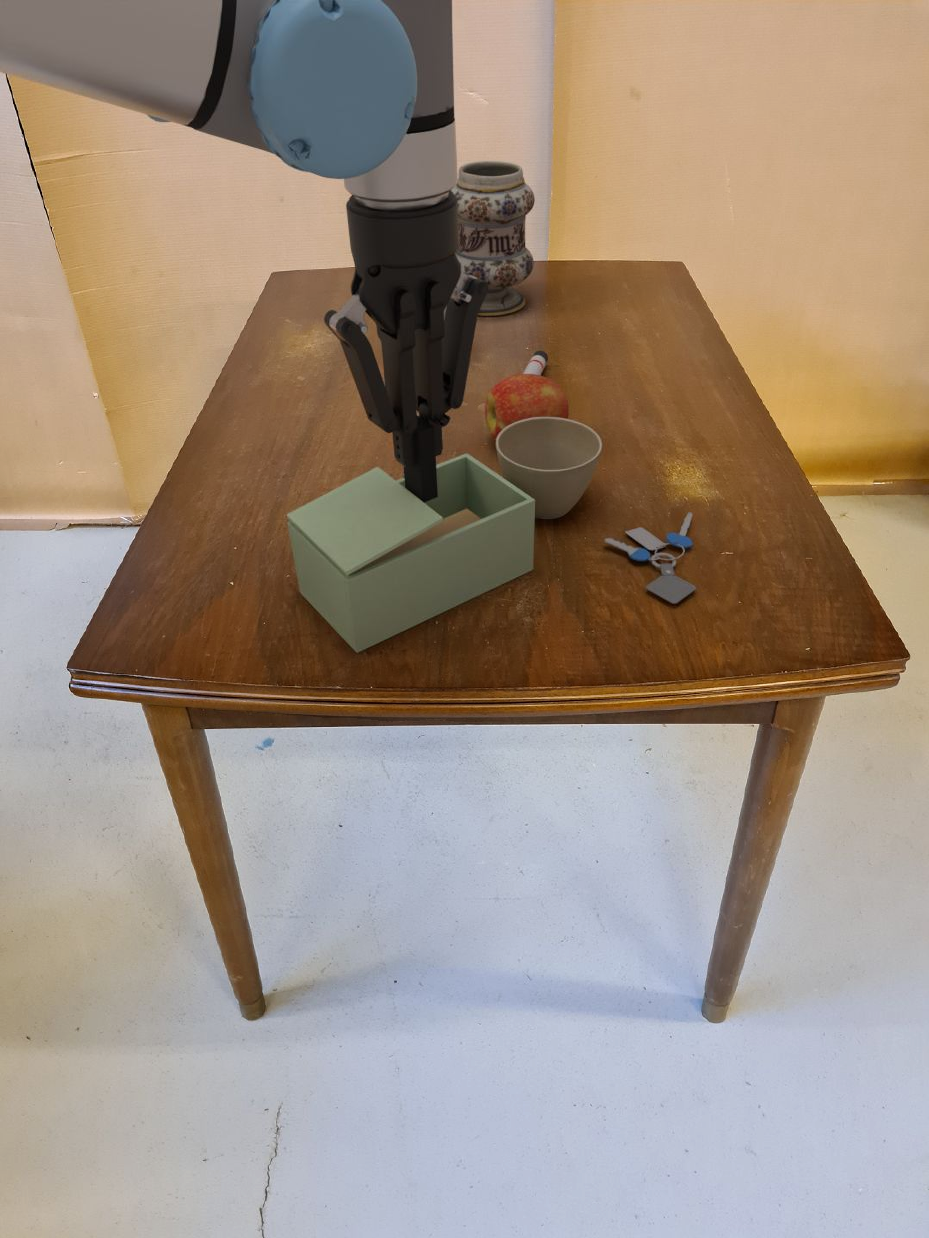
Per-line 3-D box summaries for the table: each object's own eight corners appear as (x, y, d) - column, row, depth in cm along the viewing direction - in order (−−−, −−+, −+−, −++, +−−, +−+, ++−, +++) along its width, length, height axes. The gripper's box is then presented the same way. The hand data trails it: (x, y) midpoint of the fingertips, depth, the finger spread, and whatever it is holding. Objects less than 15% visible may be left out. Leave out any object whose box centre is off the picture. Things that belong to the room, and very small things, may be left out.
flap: (347, 575, 69) (345, 572, 69) (287, 518, 75) (286, 514, 75) (443, 521, 72) (442, 517, 72) (378, 470, 78) (377, 466, 78)
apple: (480, 433, 101) (479, 366, 96) (551, 423, 103) (554, 356, 98) (499, 469, 95) (499, 399, 90) (575, 457, 97) (579, 388, 92)
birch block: (340, 598, 79) (335, 566, 77) (467, 539, 85) (466, 507, 83) (361, 618, 77) (357, 586, 74) (491, 556, 83) (490, 524, 81)
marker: (532, 364, 115) (533, 349, 113) (548, 366, 114) (548, 351, 113) (502, 421, 103) (502, 405, 102) (519, 423, 103) (519, 407, 102)
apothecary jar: (543, 293, 133) (548, 159, 121) (515, 325, 124) (517, 184, 113) (467, 284, 136) (464, 153, 125) (435, 313, 128) (428, 176, 116)
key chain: (696, 609, 77) (697, 601, 76) (598, 600, 78) (599, 593, 78) (693, 517, 87) (694, 510, 87) (607, 511, 89) (607, 504, 88)
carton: (356, 653, 74) (346, 581, 69) (299, 592, 80) (286, 522, 76) (533, 569, 82) (535, 499, 77) (468, 520, 88) (466, 452, 83)
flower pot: (483, 526, 88) (483, 461, 83) (510, 473, 95) (510, 411, 90) (586, 541, 85) (591, 476, 80) (605, 486, 92) (610, 423, 88)
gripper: (449, 164, 66) (459, 450, 81) (288, 199, 60) (331, 500, 75) (512, 186, 61) (510, 486, 76) (344, 226, 55) (378, 541, 71)
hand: (421, 492), depth 76 cm, fingers closed
